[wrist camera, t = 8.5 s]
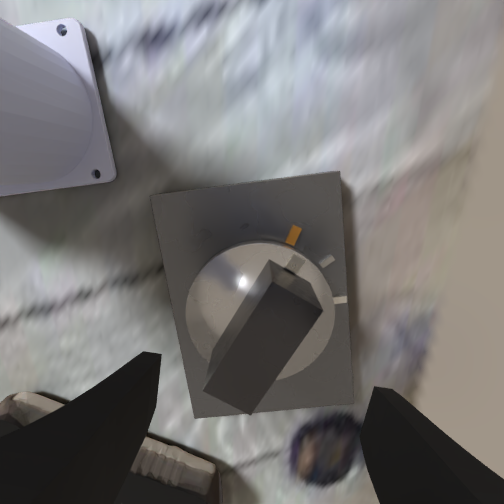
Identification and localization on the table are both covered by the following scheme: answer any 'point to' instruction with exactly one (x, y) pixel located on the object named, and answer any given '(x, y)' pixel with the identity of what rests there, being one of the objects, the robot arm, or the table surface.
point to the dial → (257, 319)
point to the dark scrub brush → (144, 466)
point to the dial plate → (267, 229)
